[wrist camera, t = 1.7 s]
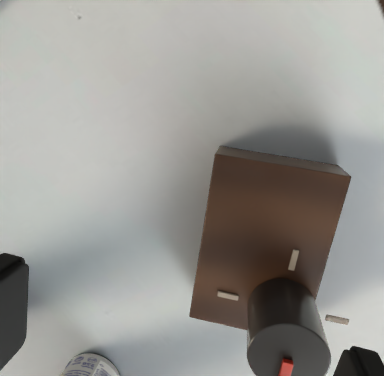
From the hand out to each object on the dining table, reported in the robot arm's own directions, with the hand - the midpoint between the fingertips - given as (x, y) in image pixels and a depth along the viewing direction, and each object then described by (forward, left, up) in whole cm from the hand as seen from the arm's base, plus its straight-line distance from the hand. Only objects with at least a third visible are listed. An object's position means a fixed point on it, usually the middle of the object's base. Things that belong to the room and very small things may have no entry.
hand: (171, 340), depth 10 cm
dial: (+6, +5, -12) cm, 15 cm away
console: (+4, +5, -15) cm, 16 cm away
